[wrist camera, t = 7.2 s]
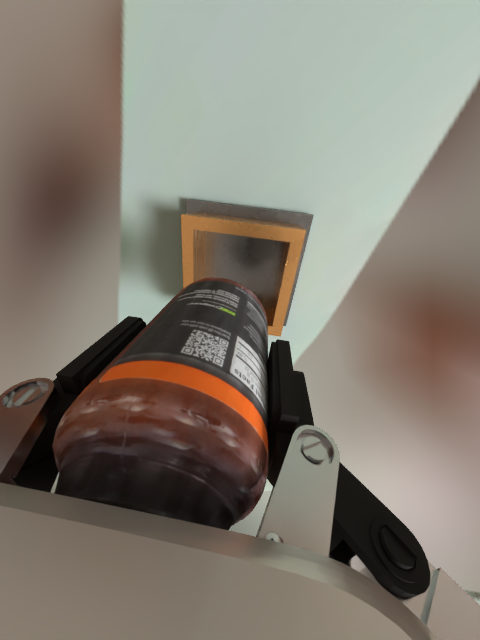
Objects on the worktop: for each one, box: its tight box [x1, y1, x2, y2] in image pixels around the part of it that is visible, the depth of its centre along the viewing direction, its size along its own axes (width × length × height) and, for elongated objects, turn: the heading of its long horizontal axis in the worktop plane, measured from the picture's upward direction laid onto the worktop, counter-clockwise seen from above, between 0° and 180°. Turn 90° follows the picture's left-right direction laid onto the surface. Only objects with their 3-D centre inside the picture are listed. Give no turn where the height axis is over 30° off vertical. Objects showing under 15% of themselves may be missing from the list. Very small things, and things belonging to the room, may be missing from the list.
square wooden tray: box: [181, 199, 313, 336], centre depth 21 cm, size 12×12×5 cm
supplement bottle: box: [52, 277, 268, 530], centre depth 8 cm, size 6×6×11 cm
